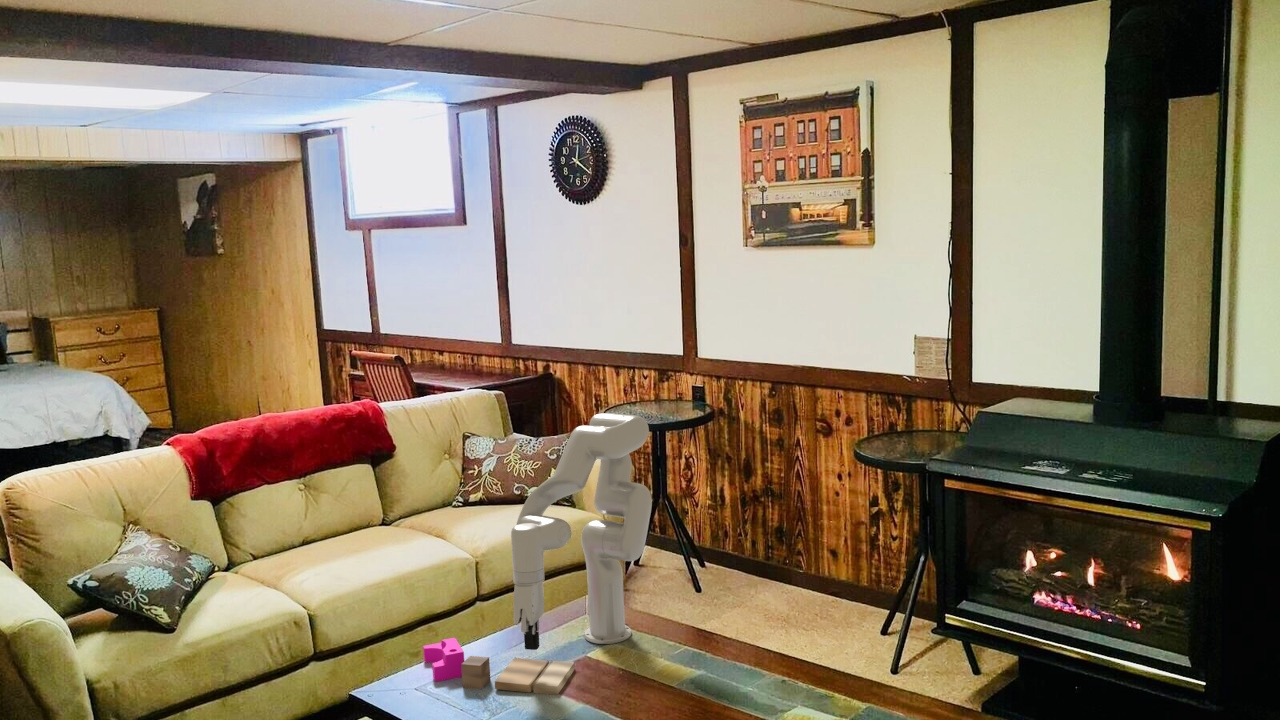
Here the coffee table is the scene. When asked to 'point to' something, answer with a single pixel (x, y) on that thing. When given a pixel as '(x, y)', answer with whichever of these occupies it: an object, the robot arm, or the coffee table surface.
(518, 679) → the plank
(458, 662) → the toy block
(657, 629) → the coffee table surface
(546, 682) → the laid board
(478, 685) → the walnut block
